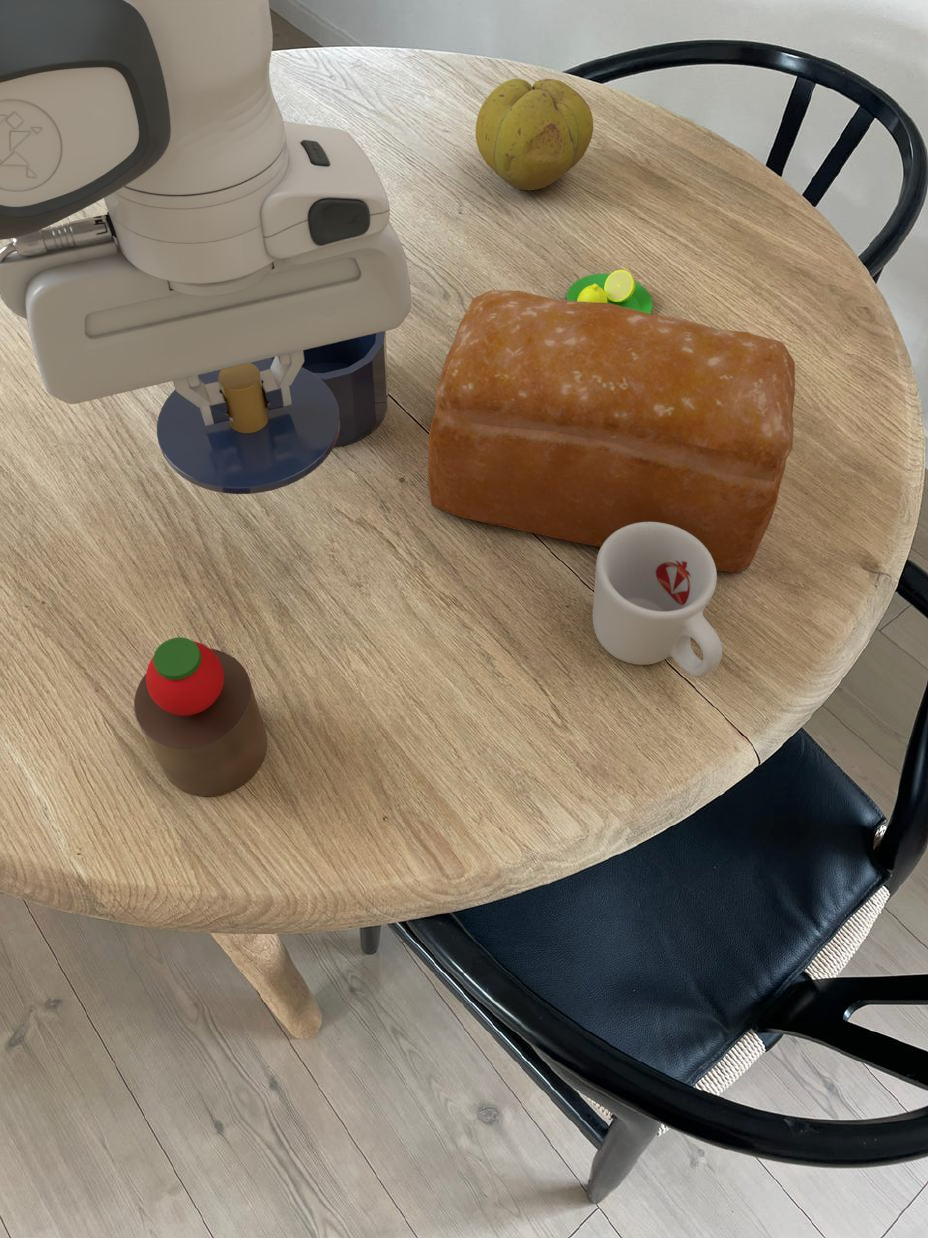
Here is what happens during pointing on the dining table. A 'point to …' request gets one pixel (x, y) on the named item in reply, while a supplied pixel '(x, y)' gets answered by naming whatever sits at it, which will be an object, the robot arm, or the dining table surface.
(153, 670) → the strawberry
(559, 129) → the fruit
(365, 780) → the dining table surface
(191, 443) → the pot lid
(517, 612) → the dining table surface
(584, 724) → the dining table surface
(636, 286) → the green dish with lemons
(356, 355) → the pot
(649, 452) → the bread
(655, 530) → the cup
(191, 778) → the stand
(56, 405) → the dining table surface
